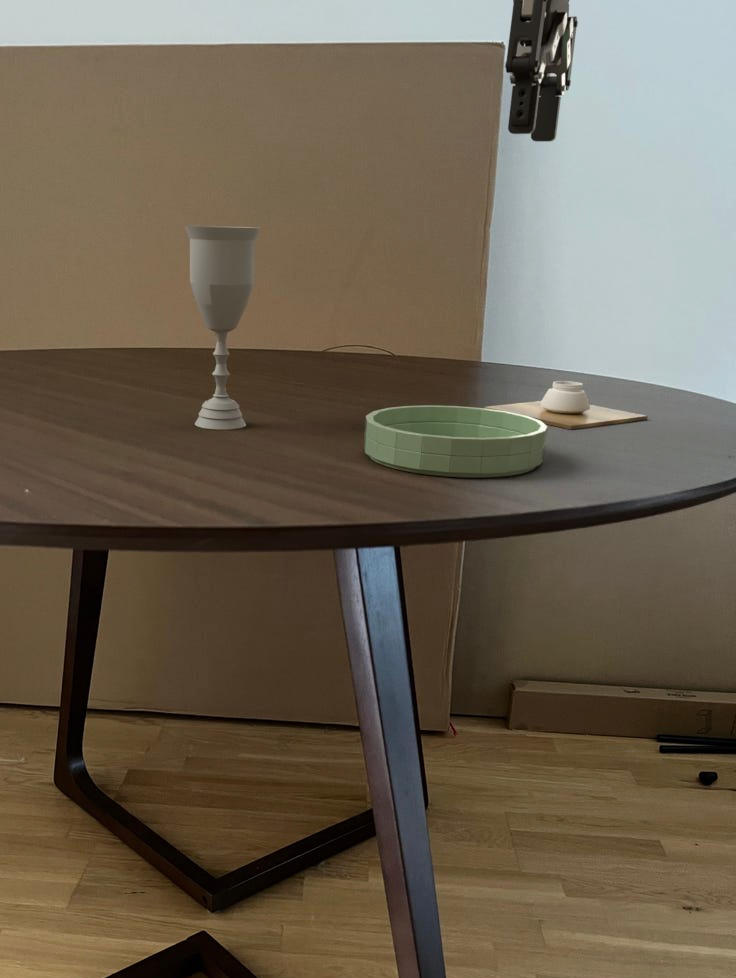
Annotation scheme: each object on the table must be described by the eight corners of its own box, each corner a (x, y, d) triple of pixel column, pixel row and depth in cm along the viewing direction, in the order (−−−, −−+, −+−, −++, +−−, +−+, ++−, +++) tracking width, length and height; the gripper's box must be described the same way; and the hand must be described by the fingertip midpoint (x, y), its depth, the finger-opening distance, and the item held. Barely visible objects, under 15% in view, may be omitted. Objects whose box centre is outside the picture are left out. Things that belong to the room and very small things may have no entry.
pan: (454, 434, 99) (457, 400, 98) (579, 466, 87) (585, 428, 86) (328, 449, 91) (330, 413, 90) (448, 487, 79) (452, 445, 78)
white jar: (594, 410, 111) (548, 405, 113) (598, 382, 110) (552, 378, 112) (580, 417, 107) (533, 411, 109) (584, 388, 106) (537, 383, 108)
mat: (559, 402, 118) (559, 398, 118) (647, 419, 109) (647, 415, 109) (484, 410, 112) (484, 406, 112) (570, 429, 102) (571, 425, 102)
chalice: (223, 434, 96) (226, 227, 89) (169, 424, 100) (167, 225, 93) (270, 424, 102) (276, 228, 95) (217, 415, 105) (218, 226, 98)
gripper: (587, -103, 79) (557, 131, 85) (617, -60, 91) (589, 143, 97) (491, -94, 82) (469, 131, 89) (532, -53, 94) (510, 143, 100)
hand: (532, 137), depth 93 cm, fingers open, 8 cm apart
